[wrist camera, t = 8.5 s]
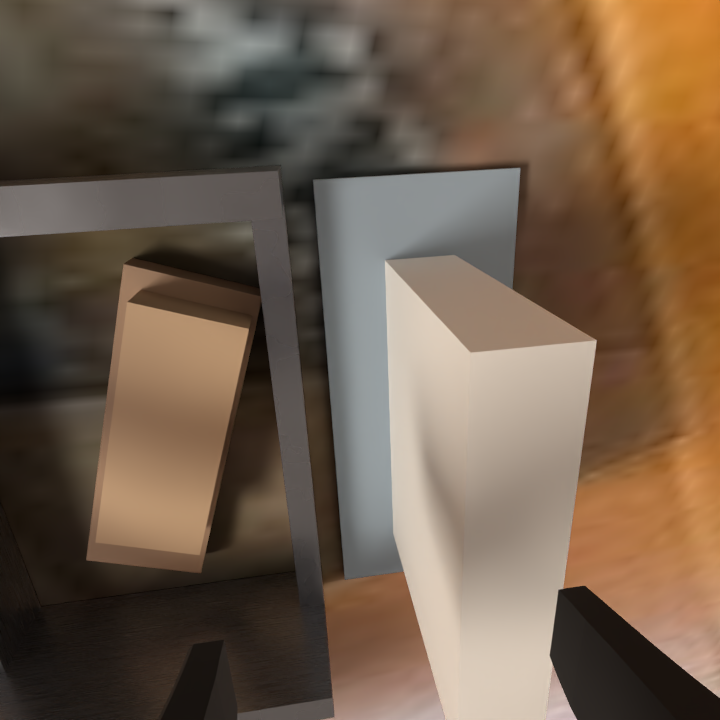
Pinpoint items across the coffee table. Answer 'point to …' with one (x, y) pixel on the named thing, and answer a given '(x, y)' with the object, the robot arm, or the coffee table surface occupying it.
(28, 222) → the rack
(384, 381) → the mat
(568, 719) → the coffee table surface
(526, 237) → the coffee table surface
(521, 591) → the cream rectangular slab
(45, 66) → the coffee table surface
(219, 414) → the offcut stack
